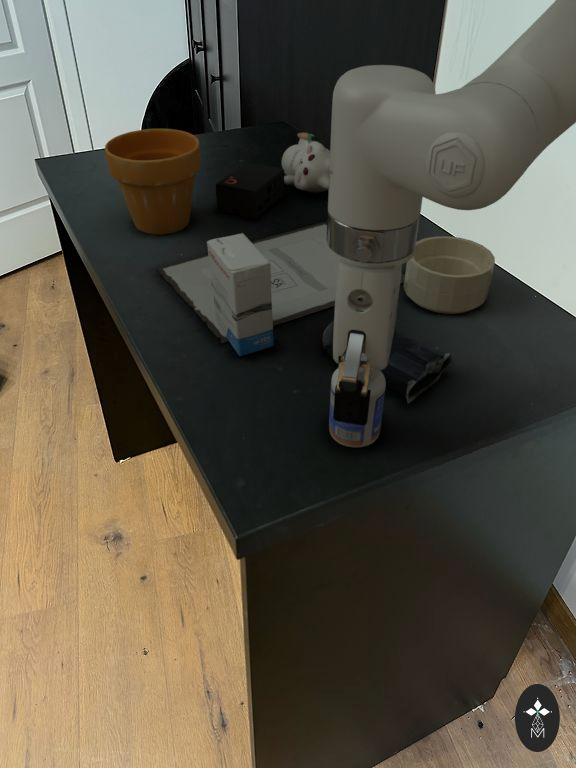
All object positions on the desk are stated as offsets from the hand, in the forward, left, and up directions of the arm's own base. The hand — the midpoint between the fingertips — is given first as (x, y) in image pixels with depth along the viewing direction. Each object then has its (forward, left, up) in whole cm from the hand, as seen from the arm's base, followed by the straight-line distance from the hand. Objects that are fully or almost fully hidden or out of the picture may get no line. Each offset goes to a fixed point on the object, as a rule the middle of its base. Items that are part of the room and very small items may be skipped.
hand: (357, 390), depth 65 cm
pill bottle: (0, 0, -6) cm, 6 cm away
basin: (-8, -30, -6) cm, 32 cm away
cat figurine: (+17, -61, -6) cm, 64 cm away
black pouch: (-1, -13, -6) cm, 14 cm away
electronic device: (+26, -53, -6) cm, 59 cm away
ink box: (+16, -14, -6) cm, 22 cm away
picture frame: (+15, -30, -6) cm, 34 cm away
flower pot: (+38, -42, -6) cm, 57 cm away
